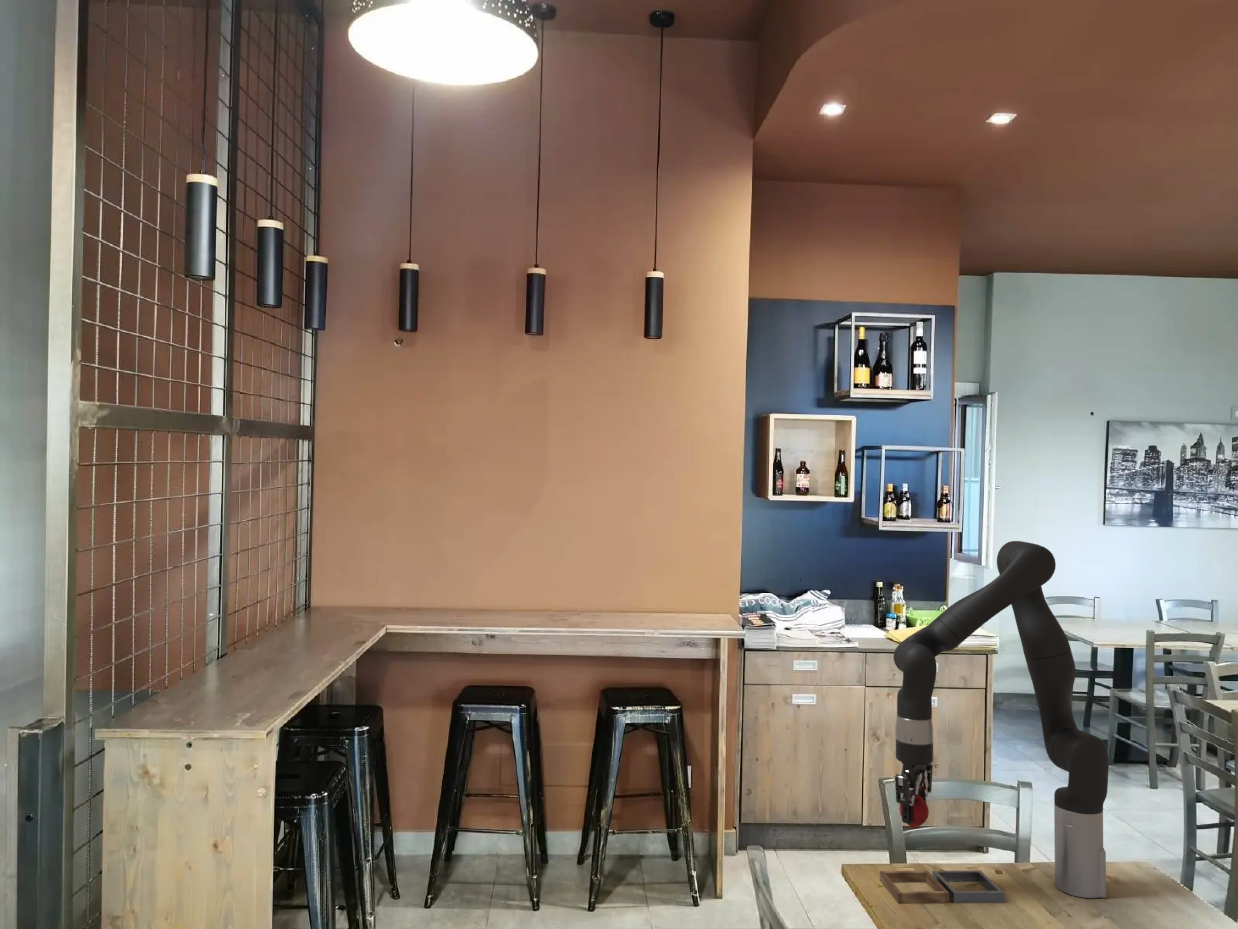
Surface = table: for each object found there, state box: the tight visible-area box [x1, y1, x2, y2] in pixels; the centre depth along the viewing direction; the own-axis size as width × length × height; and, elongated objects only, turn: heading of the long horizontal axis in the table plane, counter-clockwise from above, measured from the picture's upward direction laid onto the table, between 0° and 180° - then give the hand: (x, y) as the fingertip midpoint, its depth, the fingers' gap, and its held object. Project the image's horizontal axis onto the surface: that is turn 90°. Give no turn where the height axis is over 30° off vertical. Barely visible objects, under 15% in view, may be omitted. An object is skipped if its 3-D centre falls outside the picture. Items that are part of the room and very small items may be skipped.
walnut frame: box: [879, 870, 950, 904], centre depth 182 cm, size 11×11×2 cm
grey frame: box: [932, 870, 1006, 904], centre depth 183 cm, size 11×11×2 cm
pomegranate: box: [899, 794, 930, 829], centre depth 183 cm, size 6×6×8 cm
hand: (914, 818), depth 183 cm, fingers closed on pomegranate, 6 cm apart
